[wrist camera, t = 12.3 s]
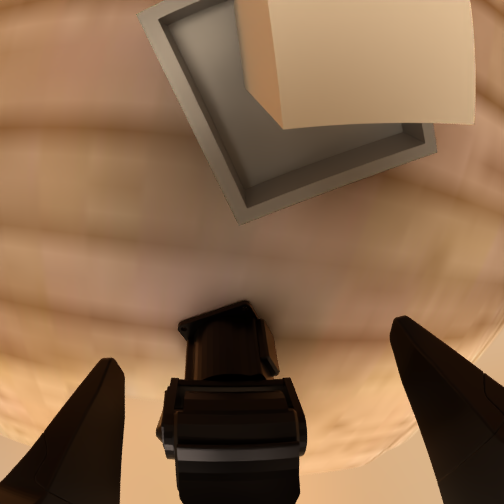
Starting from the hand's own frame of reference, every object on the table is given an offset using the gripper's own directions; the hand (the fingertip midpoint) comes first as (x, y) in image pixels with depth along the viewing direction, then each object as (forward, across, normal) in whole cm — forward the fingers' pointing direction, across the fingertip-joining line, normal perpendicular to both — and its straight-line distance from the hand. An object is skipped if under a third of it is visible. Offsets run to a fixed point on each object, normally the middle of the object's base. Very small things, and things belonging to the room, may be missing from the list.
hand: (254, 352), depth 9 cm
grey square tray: (+13, -4, -7) cm, 15 cm away
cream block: (+12, -4, -9) cm, 15 cm away
